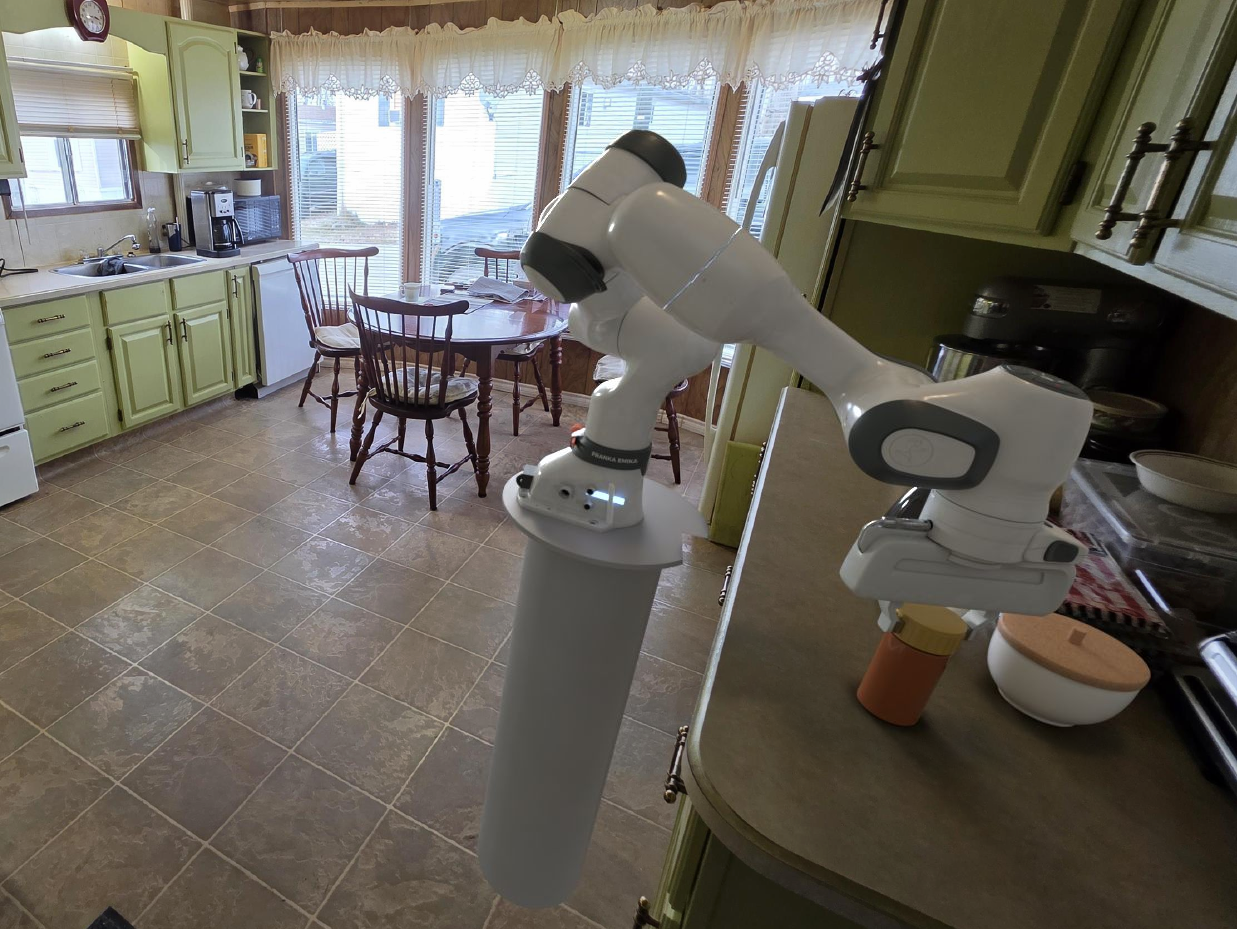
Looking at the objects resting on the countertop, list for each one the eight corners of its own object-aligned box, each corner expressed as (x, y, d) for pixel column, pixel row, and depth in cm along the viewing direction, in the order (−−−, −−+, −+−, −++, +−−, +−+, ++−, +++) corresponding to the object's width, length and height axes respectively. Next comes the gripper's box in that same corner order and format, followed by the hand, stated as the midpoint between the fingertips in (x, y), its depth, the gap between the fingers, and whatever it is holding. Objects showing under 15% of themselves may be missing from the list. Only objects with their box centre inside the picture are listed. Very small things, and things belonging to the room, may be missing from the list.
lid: (945, 663, 70) (956, 641, 69) (878, 628, 75) (887, 607, 74) (965, 642, 74) (977, 621, 72) (900, 610, 78) (910, 590, 77)
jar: (869, 719, 76) (912, 631, 71) (848, 681, 82) (887, 597, 76) (928, 731, 75) (976, 642, 70) (903, 692, 81) (946, 607, 75)
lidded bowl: (992, 652, 88) (1029, 582, 84) (1124, 718, 78) (1174, 644, 74) (952, 687, 82) (990, 614, 77) (1091, 764, 72) (1143, 686, 68)
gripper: (886, 531, 66) (840, 641, 72) (1108, 552, 65) (1043, 663, 70) (852, 500, 72) (811, 604, 78) (1055, 519, 71) (999, 624, 76)
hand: (923, 633), depth 74 cm, fingers closed on lid, 6 cm apart
